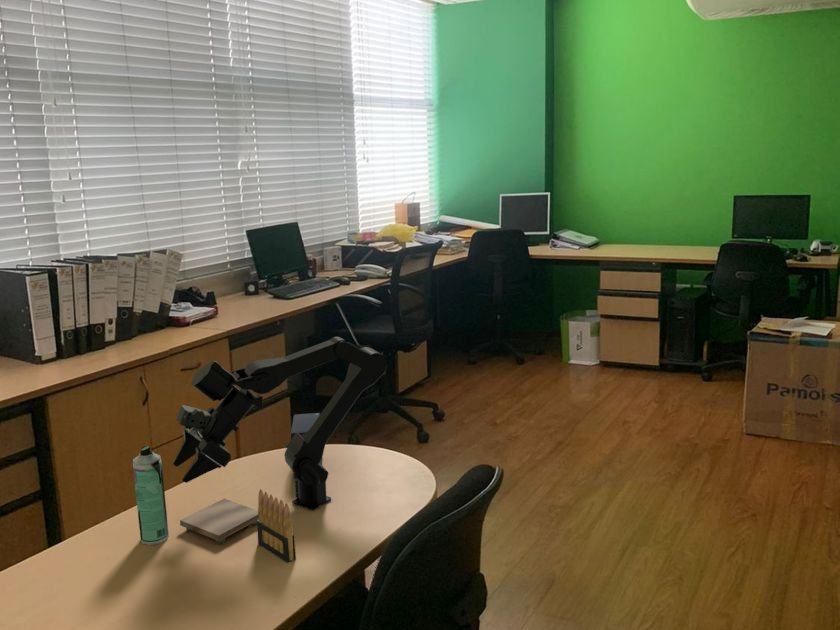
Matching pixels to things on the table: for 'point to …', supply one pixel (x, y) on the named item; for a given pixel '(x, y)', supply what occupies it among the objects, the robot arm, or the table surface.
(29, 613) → the table surface
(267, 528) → the ammunition clip
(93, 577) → the table surface
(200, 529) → the flat square brown plate
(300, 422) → the small box
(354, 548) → the table surface
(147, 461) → the spray can
